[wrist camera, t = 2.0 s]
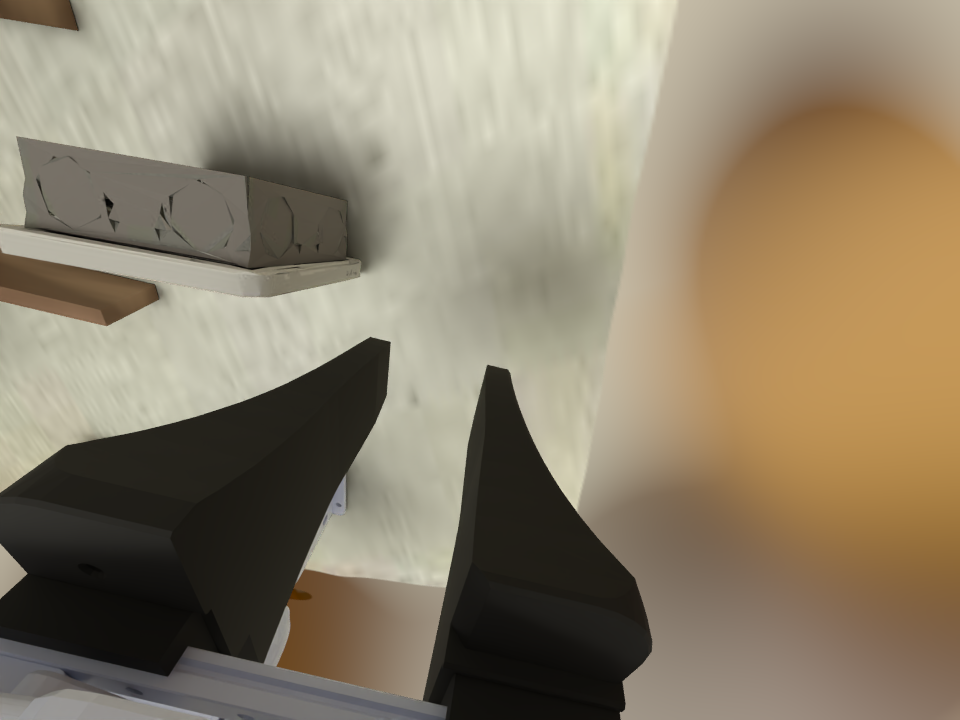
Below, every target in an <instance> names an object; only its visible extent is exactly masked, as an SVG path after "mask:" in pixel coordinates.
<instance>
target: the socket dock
mask: <svg viewBox="0 0 960 720" xmlns="http://www.w3.org/2000/svg"><path fill="white" fill-rule="evenodd" d="M0 18H4V19H10V20H16V21H22V22H28V23H34V24H40V25H46V26H52V27H58V28H65V29H71V30H77V31H78V28H77V25H76V22H75V18H74V15H73V12H72V9H71V5H70V2H69V0H0ZM157 300H159V298H158V295H157V291H156V288H155V285H153V284H149V283H145V282H141V281H137V280H132V279H128V278H124V277H120V276H115V275H111V274H107V273H103V272H98V271H94V270H90V269H86V268H81V267H76V266H71V265H65V264H60V263H54V262H49V261H43V260H38V259H33V258H27V257H22V256H16V255H11V254H5V253H2V251H1V248H0V301H2V302H6V303H11V304H15V305H19V306H23V307H28V308H32V309H36V310H40V311H45V312H49V313H53V314H57V315H62V316H66V317H70V318H74V319H79V320H83V321H87V322H91V323H96V324H100V325H104V326H108V325H110V324H112V323H114V322H116V321H118V320H120V319H122V318H124V317H126V316H128V315H130V314H132V313H134V312H136V311H137V310H139V309H141V308H143V307H145V306H147V305H149V304H151V303H153V302H155V301H157Z"/></svg>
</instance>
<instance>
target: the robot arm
mask: <svg viewBox="0 0 960 720" xmlns="http://www.w3.org/2000/svg"><path fill="white" fill-rule="evenodd" d="M390 344H391V342H389V341H384V340H380V339H376V338H372V337H370V338H368V339H366V340H364V341H363V342H361V343H359V344H358V345H356V346H354V347H353V348H351V349H349V350H348V351H346V352H344V353H343V354H341V355H339V356H338V357H336V358H334V359H332V360H331V361H329V362H327V363H325V364H323V365H322V366H320V367H318V368H316V369H314V370H312V371H310V372H308V373H306V374H304V375H302V376H301V377H299V378H297V379H295V380H293V381H291V382H289V383H287V384H284V385H282V386H280V387H278V388H275V389H273V390H271V391H268V392H266V393H263V394H261V395H258V396H256V397H253V398H251V399H248V400H246V401H243V402H240V403H237V404H234V405H231V406H228V407H225V408H222V409H219V410H216V411H213V412H210V413H207V414H204V415H200V416H197V417H193V418H190V419H186V420H182V421H179V422H175V423H171V424H167V425H163V426H159V427H155V428H151V429H147V430H142V431H138V432H134V433H129V434H124V435H119V436H114V437H108V438H103V439H98V440H93V441H88V442H83V443H78V444H72V445H67V446H65V447H64V448H62V449H61V450H59V451H58V452H57V453H55V454H54V455H52V456H51V457H50V458H48V459H47V460H45V461H44V462H43V463H41V464H40V465H38V466H37V467H36V468H34V469H33V470H32V471H30V472H29V473H27V474H26V475H25V476H23V477H22V478H20V479H19V480H18V481H16V482H15V483H13V484H12V485H11V486H9V487H8V488H6V489H5V490H4V491H2V492H1V493H0V544H1V545H2V546H3V547H4V548H5V549H6V550H7V551H8V552H9V554H10V555H11V556H13V558H14V559H15V560H16V561H17V562H18V563H19V564H20V565H21V567H22V568H23V569H24V570H25V571H26V572H27V573H28V574H27V575H26V576H25V577H24V578H23V579H22V580H21V581H20V582H18V583H17V584H16V585H15V586H14V587H13V588H12V589H11V590H10V591H9V592H8V593H6V594H5V595H4V596H3V597H2V598H1V599H0V720H621V719H620V712H622V711H624V710H625V697H624V690H623V683H622V681H623V680H624V679H625V678H627V677H628V676H629V675H630V674H631V673H632V672H634V671H635V670H636V669H637V668H638V667H639V666H640V665H641V664H643V662H644V661H645V660H646V658H647V657H648V656H649V654H650V653H651V651H652V638H651V634H650V629H649V624H648V619H647V616H646V612H645V609H644V605H643V602H642V599H641V596H640V593H639V590H638V587H637V584H636V580H635V578H634V577H633V576H632V575H631V574H630V573H629V572H628V570H627V569H626V568H625V567H624V566H623V565H622V564H621V563H620V562H619V561H618V560H617V559H616V558H615V557H614V555H613V554H612V553H611V552H610V551H609V550H608V549H607V548H606V547H605V546H604V545H603V544H602V543H601V541H600V540H599V539H598V538H597V537H596V535H595V534H594V533H593V532H592V531H591V530H590V528H589V527H588V526H587V525H586V523H585V522H584V521H583V520H582V518H581V517H580V516H579V514H578V513H577V512H576V510H575V509H574V507H573V506H572V505H571V503H570V502H569V501H568V499H567V498H566V496H565V495H564V494H563V492H562V491H561V489H560V488H559V486H558V485H557V483H556V481H555V480H554V478H553V477H552V475H551V473H550V472H549V470H548V468H547V466H546V465H545V463H544V461H543V459H542V458H541V456H540V454H539V452H538V450H537V448H536V446H535V444H534V442H533V439H532V437H531V435H530V433H529V431H528V428H527V426H526V424H525V421H524V418H523V416H522V413H521V410H520V408H519V405H518V402H517V399H516V396H515V392H514V389H513V385H512V380H511V375H510V372H509V371H508V370H507V369H503V368H499V367H495V366H490V365H487V368H486V372H485V376H484V380H483V384H482V388H481V391H480V395H479V399H478V403H477V407H476V411H475V415H474V420H473V424H472V429H471V433H470V438H469V443H468V449H467V458H466V467H465V476H464V486H463V495H462V505H461V514H460V520H459V527H458V532H457V537H456V542H455V547H454V552H453V557H452V562H451V567H450V572H449V577H448V582H447V587H446V592H445V597H444V602H443V606H442V611H441V616H440V621H439V626H438V630H437V635H436V640H435V645H434V650H433V654H432V659H431V664H430V669H429V674H428V679H427V683H426V687H425V692H424V697H423V701H421V700H416V699H412V698H408V697H404V696H399V695H395V694H391V693H386V692H382V691H377V690H373V689H369V688H365V687H361V686H356V685H352V684H348V683H343V682H339V681H335V680H331V679H326V678H322V677H317V676H313V675H309V674H305V673H301V672H296V671H292V670H288V669H283V668H279V667H276V665H277V663H278V661H279V659H280V657H281V654H282V652H283V650H284V647H285V644H286V641H287V638H288V635H289V631H290V619H289V616H290V614H289V613H290V611H289V608H288V607H287V606H286V605H287V602H288V600H289V598H290V595H291V593H292V590H293V588H294V585H295V583H296V582H297V581H298V579H299V578H300V576H301V574H302V572H303V570H304V568H305V566H306V564H307V562H308V560H309V558H310V556H311V554H312V552H313V550H314V548H315V546H316V544H317V543H318V541H319V539H320V537H321V535H322V533H323V531H324V529H325V527H326V525H327V523H328V521H329V519H330V517H331V515H332V514H336V515H344V514H345V511H346V473H347V471H348V469H349V468H350V466H351V464H352V463H353V461H354V459H355V457H356V456H357V454H358V452H359V451H360V449H361V447H362V445H363V444H364V442H365V440H366V438H367V437H368V435H369V433H370V431H371V430H372V428H373V426H374V424H375V422H376V420H377V417H378V415H379V413H380V410H381V408H382V405H383V403H384V400H385V398H386V396H387V383H388V370H389V357H390Z"/></svg>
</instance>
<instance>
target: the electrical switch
mask: <svg viewBox="0 0 960 720" xmlns="http://www.w3.org/2000/svg"><path fill="white" fill-rule="evenodd" d="M16 137H17V136H16ZM17 142H18V146H19V151H20V156H21V160H22V165H23V169H24V174H25V183H24V190H23V197H24V202H25V207H26V218H25V226H23V225H8V224H0V248H1V251H2V253H5V254H11V255H16V256H22V257H27V258H33V259H38V260H43V261H49V262H54V263H60V264H65V265H71V266H76V267H82V268H87V269H92V270H98V271H103V272H109V273H114V274H120V275H125V276H131V277H136V278H141V279H147V280H152V281H158V282H163V283H169V284H174V285H180V286H185V287H190V288H196V289H201V290H207V291H212V292H218V293H223V294H229V295H234V296H239V297H272V296H277V295H282V294H286V293H291V292H295V291H300V290H305V289H309V288H314V287H318V286H323V285H328V284H332V283H337V282H341V281H346V280H350V279H354V278H358V277H360V270H361V261H360V260H359V259H354V258H349V257H346V250H347V238H348V237H347V230H346V216H347V201H345V200H341V199H337V198H333V197H329V196H325V195H321V194H317V193H313V192H309V191H305V190H301V189H297V188H293V187H288V186H284V185H280V184H276V183H272V182H268V181H264V180H260V179H256V178H252V177H249V185H248V181H247V176H243V175H237V174H231V173H225V172H219V171H214V170H208V169H202V168H196V167H191V166H185V165H179V164H173V163H167V162H162V161H156V160H150V159H144V158H138V157H133V156H127V155H121V154H115V153H109V152H104V151H98V150H92V149H86V148H80V147H75V146H69V145H63V144H57V143H52V142H46V141H40V140H34V139H28V138H23V137H17ZM201 181H202V182H203V183H201ZM248 196H249V197H248Z"/></svg>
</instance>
